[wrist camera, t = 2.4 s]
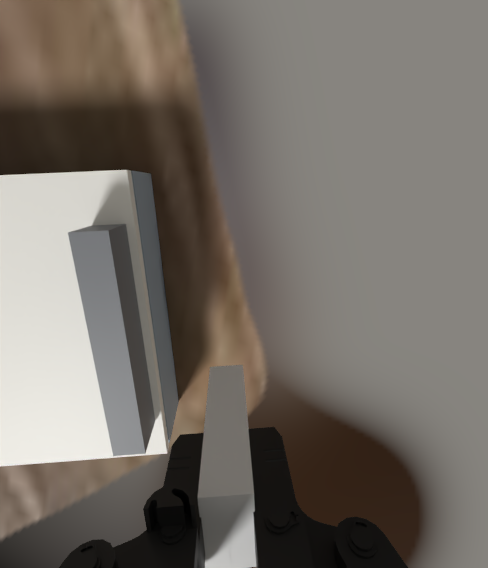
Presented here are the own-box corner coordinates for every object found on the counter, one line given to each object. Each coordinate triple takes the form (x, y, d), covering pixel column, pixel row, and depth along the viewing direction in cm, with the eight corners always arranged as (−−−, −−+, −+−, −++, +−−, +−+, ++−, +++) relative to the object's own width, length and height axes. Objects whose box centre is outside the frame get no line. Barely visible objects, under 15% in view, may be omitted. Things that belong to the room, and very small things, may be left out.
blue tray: (-129, 185, 23) (-221, 186, 19) (150, 173, 24) (132, 170, 19) (-44, 417, 29) (-98, 462, 24) (178, 401, 30) (169, 442, 25)
